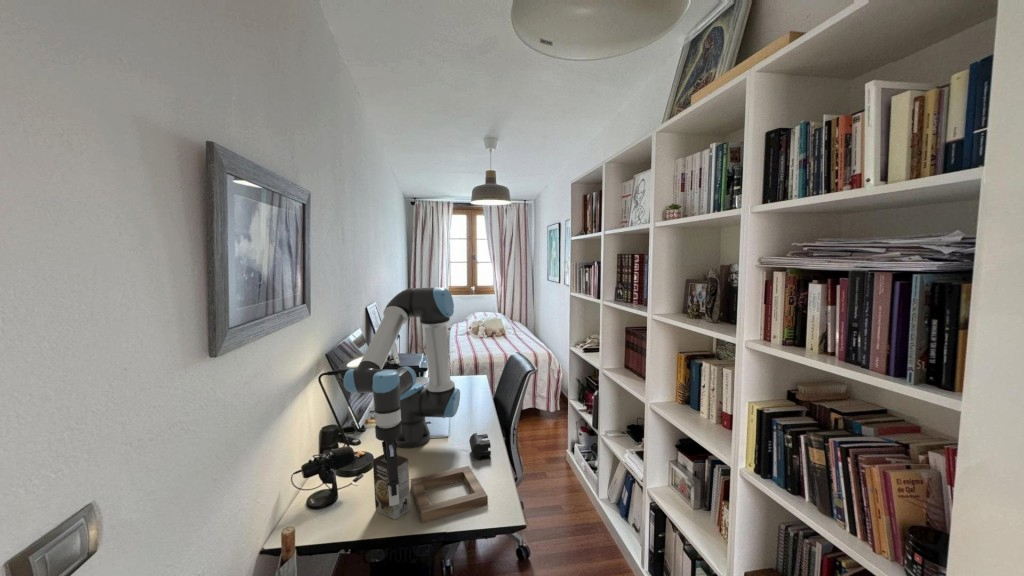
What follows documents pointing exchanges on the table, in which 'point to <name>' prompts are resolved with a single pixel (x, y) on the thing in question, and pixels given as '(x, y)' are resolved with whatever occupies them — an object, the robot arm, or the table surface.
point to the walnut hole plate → (453, 505)
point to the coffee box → (382, 489)
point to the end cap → (480, 446)
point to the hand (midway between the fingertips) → (392, 494)
